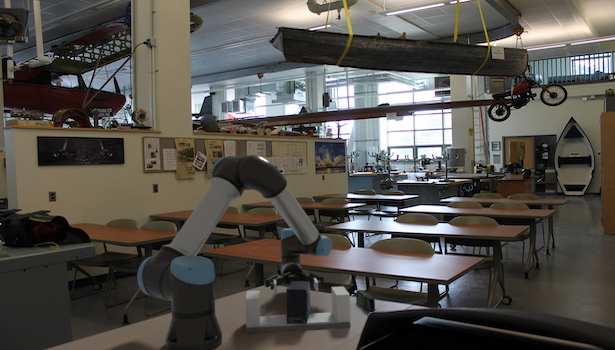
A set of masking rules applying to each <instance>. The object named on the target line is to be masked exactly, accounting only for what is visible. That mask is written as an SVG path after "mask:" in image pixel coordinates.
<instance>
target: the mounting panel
mask: <svg viewBox="0 0 615 350" xmlns="http://www.w3.org/2000/svg"><path fill="white" fill-rule="evenodd" d="M350 327H351V320H350V321H344V322H337V321H336V319H335V317H334V315H333V313H332V311H330V312H315V313H314V312H313V313H312V312H310V315H309V318H308V321H307V323H306V324H296V323H287V314H276V315H275V314H274V315H260V326H253V327H246V330H245V331H246V333H248V332H249V333H260V332H261V333H265V332H264V331H267V332H278V331H280V332H283V331H285V332H286V331H299V330H302V329H303V330H318V329H319V330H320V329H334V328H338V329H339V328H350Z"/></svg>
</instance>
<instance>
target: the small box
mask: <svg viewBox="0 0 615 350" xmlns="http://www.w3.org/2000/svg"><path fill="white" fill-rule="evenodd" d="M285 292H286V315H287V323H296V324H306V323H307V321H308V318H309V315H310V314H311V284H310V282H304V281H291V283H290V284H289V285H287V288H286V291H285Z"/></svg>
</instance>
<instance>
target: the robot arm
mask: <svg viewBox="0 0 615 350" xmlns="http://www.w3.org/2000/svg"><path fill="white" fill-rule="evenodd" d="M210 173H211V174H210V179H209V186H210V187H209V189H208V190H207V191H206V193H205V195H204V196H203V197H202V198H201V200H200V201H199V203H198V204H197V205H196V207H195V209H194V210H193V211H192V213H191V214H190V216H189V217H188V218H187V219H186V220H185V222H184V224H183V225H182V227H181V229H180V230H179V231H178V232H177V234H176V235H175V237H174V238H173V239H172V241H171V242H170V243H169V244H165V245H164V244H163V245H162V246H161V248H160V249H159V251H158V252H157V253H155V255H152V256H149V257H146V258H145V259H144V260H143V261H142V262H141V264H140V265H139V266H138V267H139V268H138V270H137V275H136V278H137V284H138V286H139V288H140V290H141V291H142V292H143V293H144V294H146V295H148V296H150V297H152V298H155V299H161V300H164V301H167V302H171V319H170V323H169V327H168V329H167V332H166V337H165V348H166V350H213V349H215V348H217V347H219V346H220V345H221V344H222V343H223V332H222V328H221V326H220V324H219V320H218V317H217V315H216V272H215V265H214V263H213V261H212V260H211V259H209V258H207V257H204V256H200V255H199V256H198V254H199V252H200V251H201V249H202V248H203V246H204V245H205V243H206V242H207V240H208V239H209V237H210V236H211V234H212V233H213V231H214V229H215V227H216V226H217V225H218V223H219V222H220V220H221V219H222V217H223V216H224V214H226V211H227V209H228V208H229V207H230V205H231V203H232V202H234V201H238V200H240V198H241V197H242V195H243V194H244V192H245V191H246V190H249V191H250V190H253V191H256V192H258V193H260V194H261V196H262V197H263V198H264V199H265V200H269V201H270V203H271V204H272V205H273V206H274V208H275V209H276V211H277V212H278V213H279V215H280V216H281V217H282V219H283V220H284V222H285V224H287V225H288V228H283V229H281V231H280V251H281V252H280V254H281V256H280V259H281V260H280V261H281V263H280V271H281V275H279V274H278V273H275V274H273V275H271V276H270V277H268V278H266V279H264V287H265V288H269V287H270V290H271V291H273V293H274V294H278V293H277V287H278V286H282V285H285V286H289V284H290V283H291V281H304V282H310V285H312V286H313V287H314V290H315V292H319V287H321V286H324V285H325V277H324V276H322V275H319V274H315V273H313V272H311V271H309V272H308V273H307V274H306V273H304V272H303V270H302V266H301V255H305V256H306V255H307V256H313V257H328V256H329V255H330V254H331V252H332V249H333V242H332V239H331V238H330V237H329V236H325V235H321V233H320V232H319V230H318V229H317V227H316V226H315V225H314V223H313V221H312V220H311V219H310V217H309V216H308V214H307V213H306V212H305V209H304V208H303V207H302V205H301V204H300V203H299V202H298V200H297V198H296V197H295V196H294V194H293V193H292V191H291V190H290V188H289V187H288V180H287V179H286V177H285V176H284V174H283V173H282V172H281V171H280V170H279V169H278V168H277V167H276V166H275V165H274V164H273V163H272V162H271V161H269V160H268V159H266V158H265V157H263V156H260V155H256V154H249V155H228V156H224V157H221V158H219V159H217V160H216V161H215V162H214V164H213V165H212V167H211V170H210Z"/></svg>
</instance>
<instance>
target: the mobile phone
mask: <svg viewBox="0 0 615 350" xmlns="http://www.w3.org/2000/svg"><path fill="white" fill-rule="evenodd" d="M355 292H356V293H355V295H356V298H355V299H356V303H357V304H358V305H360V306H361V307H362V308H363V309H364V310H365V311H368V312H373V311H377V310H376V302H375V300H376V299H375V298H374V297H373V296H372V295H371V294H370V293H368V292H367V291H365V290H362V289H357V290H356V291H355Z"/></svg>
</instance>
